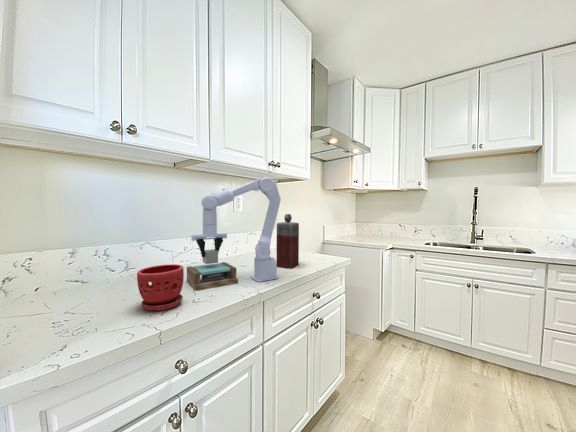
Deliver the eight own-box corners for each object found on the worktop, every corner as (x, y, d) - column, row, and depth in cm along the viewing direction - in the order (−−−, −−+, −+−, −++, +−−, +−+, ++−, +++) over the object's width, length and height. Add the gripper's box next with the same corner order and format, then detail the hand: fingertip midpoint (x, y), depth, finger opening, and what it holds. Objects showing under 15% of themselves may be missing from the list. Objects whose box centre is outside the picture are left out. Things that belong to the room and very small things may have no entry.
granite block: (214, 260, 108) (214, 249, 108) (218, 262, 104) (218, 250, 103) (202, 261, 105) (202, 250, 105) (206, 264, 101) (206, 252, 101)
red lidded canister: (280, 263, 139) (281, 213, 138) (298, 265, 134) (299, 214, 133) (272, 266, 131) (272, 213, 130) (291, 268, 126) (291, 214, 125)
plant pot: (184, 295, 87) (184, 262, 86) (182, 310, 74) (182, 271, 74) (142, 300, 82) (142, 264, 82) (132, 316, 70) (132, 275, 69)
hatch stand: (225, 275, 113) (225, 262, 113) (237, 283, 101) (237, 268, 101) (186, 281, 104) (186, 266, 104) (195, 290, 92) (195, 274, 92)
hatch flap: (220, 270, 112) (220, 262, 111) (230, 276, 102) (230, 268, 102) (192, 274, 105) (192, 266, 105) (200, 281, 95) (200, 272, 95)
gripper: (223, 223, 112) (223, 253, 112) (189, 224, 103) (189, 256, 104) (228, 224, 106) (228, 255, 106) (193, 225, 97) (194, 259, 98)
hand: (209, 256), depth 105 cm, fingers closed on granite block, 5 cm apart
